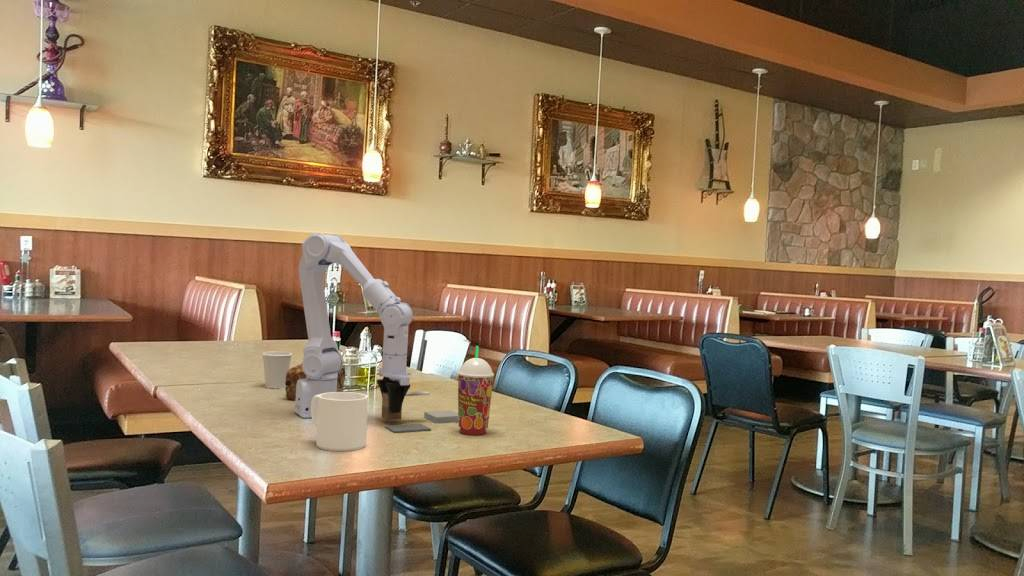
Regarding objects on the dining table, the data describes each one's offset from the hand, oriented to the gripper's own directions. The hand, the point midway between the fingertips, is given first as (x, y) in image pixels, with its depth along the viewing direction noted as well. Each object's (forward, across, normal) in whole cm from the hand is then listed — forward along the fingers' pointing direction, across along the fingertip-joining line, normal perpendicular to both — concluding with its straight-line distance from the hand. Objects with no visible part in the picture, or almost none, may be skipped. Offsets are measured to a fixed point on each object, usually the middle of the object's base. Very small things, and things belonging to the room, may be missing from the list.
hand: (391, 410), depth 185 cm
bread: (+3, +38, +7) cm, 39 cm away
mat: (+3, -8, -1) cm, 8 cm away
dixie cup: (+3, +55, +14) cm, 57 cm away
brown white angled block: (+2, 0, -4) cm, 4 cm away
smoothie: (+3, -15, -14) cm, 21 cm away
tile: (+2, 0, -10) cm, 10 cm away
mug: (+3, -17, +19) cm, 26 cm away
